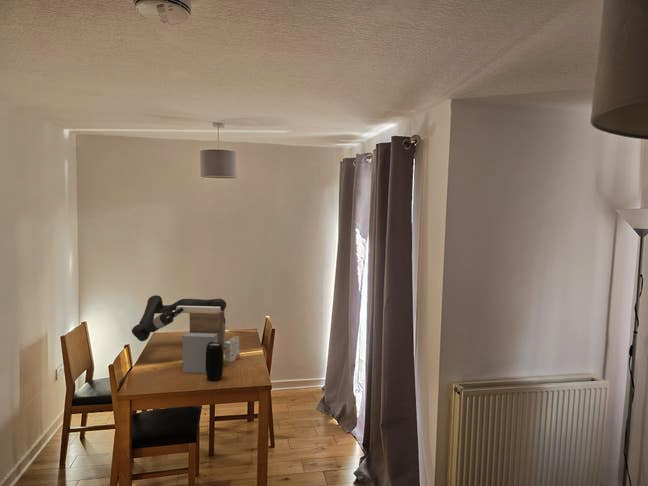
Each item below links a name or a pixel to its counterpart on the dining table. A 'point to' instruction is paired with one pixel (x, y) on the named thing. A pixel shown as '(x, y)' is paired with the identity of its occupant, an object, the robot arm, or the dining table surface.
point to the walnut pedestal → (208, 324)
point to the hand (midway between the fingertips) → (185, 307)
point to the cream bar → (200, 309)
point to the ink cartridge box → (232, 349)
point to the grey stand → (196, 351)
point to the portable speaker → (214, 361)
